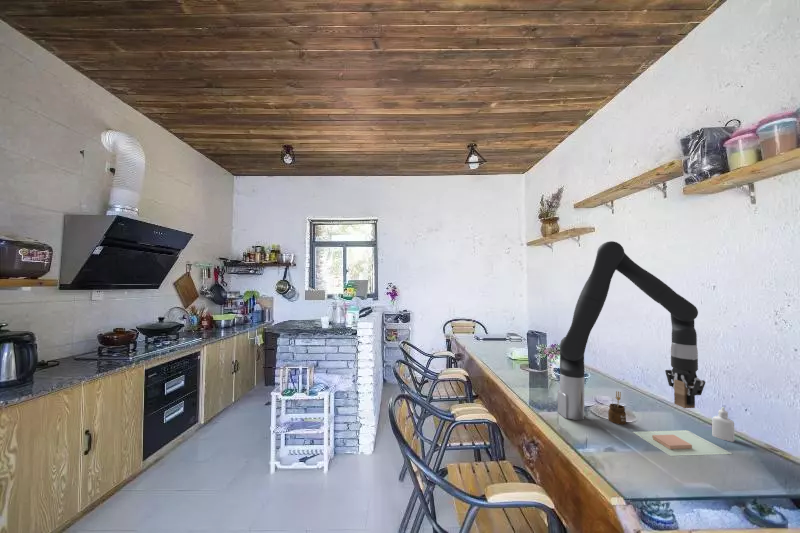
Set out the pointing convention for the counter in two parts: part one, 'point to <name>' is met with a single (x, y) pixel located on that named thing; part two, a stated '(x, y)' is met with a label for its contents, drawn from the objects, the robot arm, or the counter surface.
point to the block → (681, 394)
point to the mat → (698, 443)
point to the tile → (672, 442)
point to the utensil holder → (617, 412)
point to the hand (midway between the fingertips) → (684, 402)
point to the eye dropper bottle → (723, 426)
